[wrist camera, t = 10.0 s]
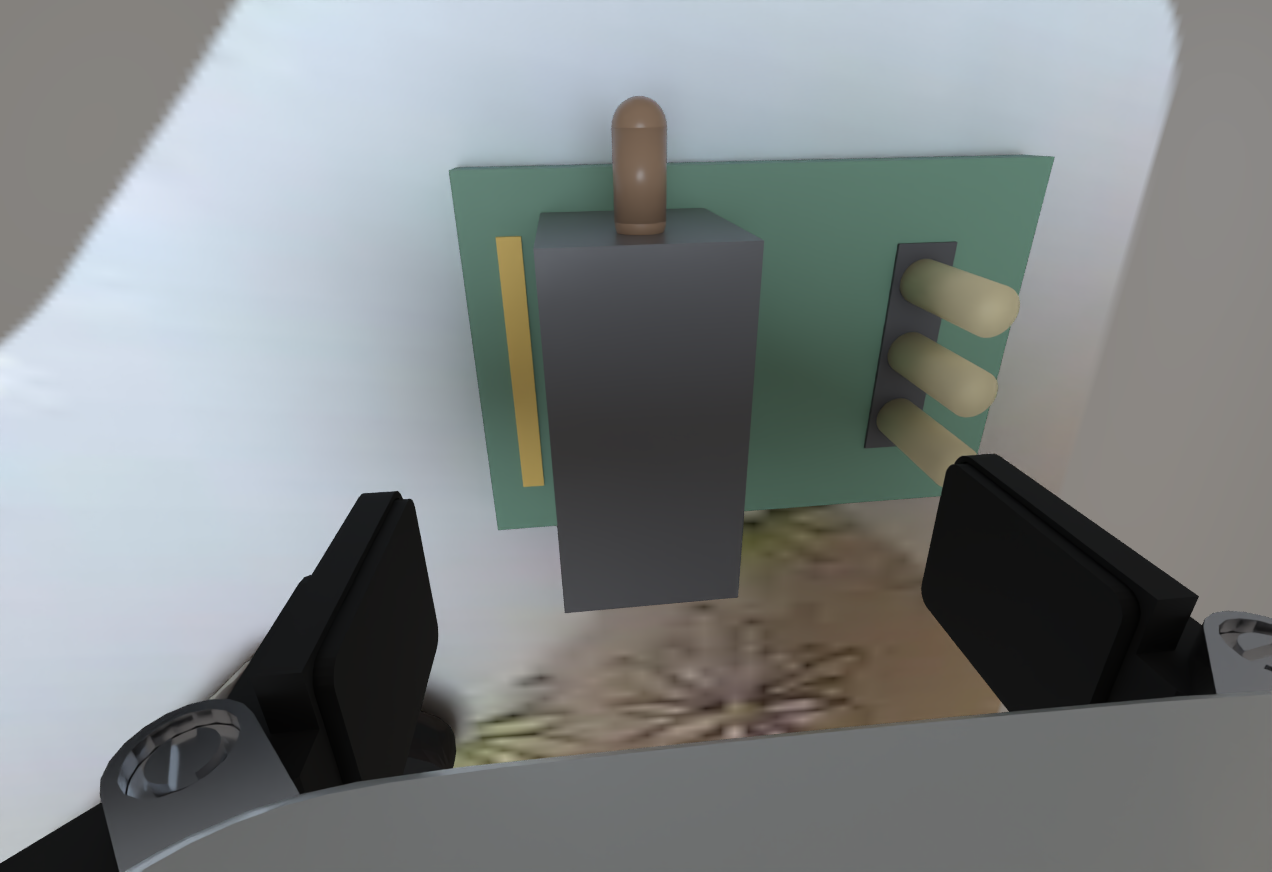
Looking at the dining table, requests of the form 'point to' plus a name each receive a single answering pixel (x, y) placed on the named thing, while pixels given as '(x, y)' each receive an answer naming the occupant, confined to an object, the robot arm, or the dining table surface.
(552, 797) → the robot arm
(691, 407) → the plug housing
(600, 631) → the dining table surface
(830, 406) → the header board
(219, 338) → the dining table surface
